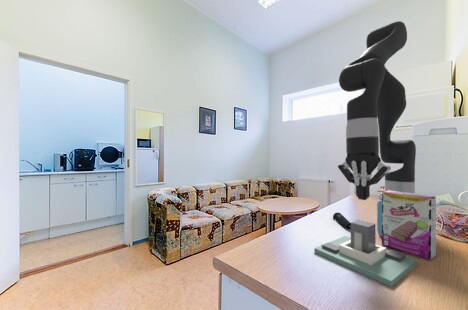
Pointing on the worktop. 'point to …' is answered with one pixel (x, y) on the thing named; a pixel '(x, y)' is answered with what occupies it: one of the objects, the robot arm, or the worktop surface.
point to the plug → (363, 236)
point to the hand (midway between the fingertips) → (362, 199)
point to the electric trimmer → (342, 220)
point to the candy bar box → (409, 223)
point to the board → (369, 260)
